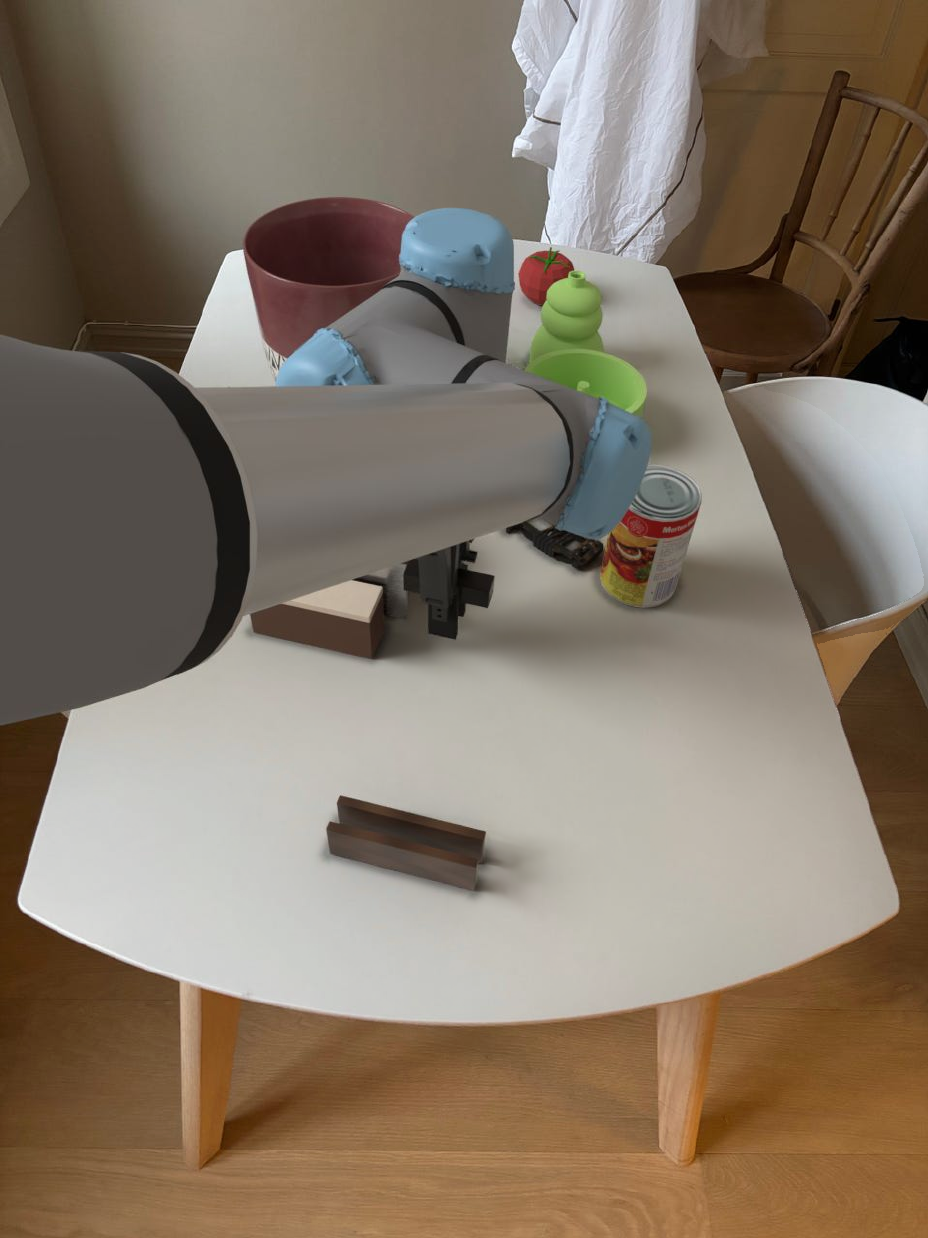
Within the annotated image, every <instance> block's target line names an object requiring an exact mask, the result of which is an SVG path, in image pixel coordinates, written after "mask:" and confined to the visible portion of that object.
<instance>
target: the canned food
mask: <svg viewBox="0 0 928 1238" xmlns="http://www.w3.org/2000/svg"><path fill="white" fill-rule="evenodd" d="M702 499H703V494H702V492H701V488H700V486H699V485H698V483H697V482H696V481H695V480H694V479H693V478H692V477H691V476H689V474H687V473H685V472H683V471H681V470H679V469H677V468H674V467H671V466H669V465H662V464H648V465H647V469H646V471H645V474H644V477H643V480H642V482H641V485H640V487H639V489H638V491H637V494H636V496H635V498H634V500H633V502H632V504H631V505H630V507H629V509H628V511H627V512H626V514H625V515H624V517H623V518H622V520H621V521H620V523H619V524H618V525H617V526H616V527H615V528H614V529H613V530H612V531H611V532H610V533H609V534H607V536H606V537H607V538H606V542H605V546H604V550H603V552H604V553H603V556H602V561H601V565H600V573H599V580H600V583H601V586H602V588H603V589H604V591H605V593H607V594H609V596H610V597H611V598H612V599H614V600H616V601H617V602H619V603H621V604H624V605H627V606H629V607H634V608H640V609H641V608H643V609H644V608H653V607H657V606H660V605H662V604H665V603H666V602H668V601H669V600H670V599H671V598H672V597H673V595H674V594H675V592H676V589H677V586H678V583H679V579H680V576H681V572H682V569H683V566H684V564H685V563H684V562H685V559H686V555H687V552H688V549H689V545H690V542H691V538H692V535H693V532H694V528H695V526H696V522H697V519H698V515H699V512H700V508H701V504H702V501H703V500H702Z"/></svg>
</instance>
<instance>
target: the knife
mask: <svg viewBox="0 0 928 1238" xmlns="http://www.w3.org/2000/svg"><path fill="white" fill-rule="evenodd" d="M547 523H548V524H550V525H551V526H549V527H547V528H545V529H543V530H540V529H538V528H537V527H535V526H534V525H532V524H531V523H530V522H529V521H526V522H522V523H519V524H516V525H513V526H510V527H507V528H505V533H507V534H509V533H511V532H513V531H514V530H515V529H517V530H519V531H520V532H521V533H522V535H523V536H524V537H525V539H527V540H528V541H530V542H532V546H533V547H536V549H537V550H540V551H541V552H542V553H544V554H545V555H547V556H548V557H549V558H552V559H554V560H555V561H558V562H563V563H565V564H570V565H571V567H572V568H574V569H575V570H580V571H581V570H583V569H584V568H588V567H589V566H590V565H592V564H593V563H594V562H595V561H596V560H597V559H598V558H599V556H600V555H601V554H602V553H603V552H604V549H605V546H604V543H603V542H602V541H600V540H599V539H588V538H585V537H582V536H579V535H576V534H574V533H571V532H568V531H565V530H561V531H559V530H558V529H557V528H554V527H555V526H554V525H552V524H551V523H549V522H547ZM557 532H558V533H557ZM556 538H559V539H558V540H556ZM573 540H574V541H576V542H578V543H579V544H580V545H578V546H577V547H576V548H574V549H573V550H570V549H568V547H566V546H567V545H568V544H569V543H571V542H572V541H573ZM590 543H591V544H590ZM582 555H583V556H582ZM581 556H582V557H581ZM570 557H571V558H570Z"/></svg>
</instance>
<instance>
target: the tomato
mask: <svg viewBox="0 0 928 1238" xmlns="http://www.w3.org/2000/svg"><path fill="white" fill-rule="evenodd" d="M571 271H575V266H574V264H573V262H572V261H571V260H570V259H569V258H568V257H567V256H566V255H564V253H561V250H559V249H558V250H555V251H554V250H553V247H552V246H550V247H549V250H540V251H539V250H538V251H536V252H534V253H532V254H530V255H528V256H527V257H525V258H524V259H523V262H522V263H521V266H520V268H519V271H518V283H519V287H520V291H521V292H522V294H523V295H524V296H525V297H526V298H527V299H528V300H529V301H530V302H531V303H533V304H535V305H538V306H543V305H544V303H545V302H546V300H547V299H546V297H547V291H548V289H549V288H550V287H551V286H552V284H554V283H555V282H557V281H559V280H562V279H565V278H568V274H569V272H571Z"/></svg>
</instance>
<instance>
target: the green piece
mask: <svg viewBox="0 0 928 1238" xmlns="http://www.w3.org/2000/svg"><path fill="white" fill-rule="evenodd" d="M574 270H575V269H574ZM586 277H587V274H586V273H585V272H584V271H582V270H575V271H571V272H569V274H568V278H565V279H562V280H559V281H557V282H555V283H554V284H552V286H551V287H550V288H549V289H548V291H547V297H546V299H547V300H546V302H545V303H544V305H542V308H541V310H540V311H541V312H540V319H541V320H540V321H541V323H542V325H541V326H540V327H539V328H538V329H537V331H536V332H535V334H534V336H533V337H532V340H531V345H530V347H529V348H530V350H529V359H528V364H527V365H526V366H525V368H524V370H525V371H527V372H530V373H533V374H535V375H538V376H541V377H543V378H546V379H548V380H551V381H554V382H556V383H559V384H562V385H564V386H567V387H570V388H572V389H575V390H577V391H580V392H583V393H585V394H588V395H591V396H593V397H596V398H599V397H603V398H605V399H607V400H608V402H609V403H611V404H613V405H615V406H617V407H619V408H621V409H623V410H625V411H628V412H630V413H632V414H634V415H636V416H638V417H640V418H642V419H643V413H644V407H645V403H646V399H647V392H648V389H647V385H646V381H645V379H644V378H643V376H642V374H641V373H640V372H639V371H638V370H637V369H636V368H635V367H634V366H633V365H631V364H630V363H629V362H627V361H626V360H624V359H621V358H620V357H617V356H615V355H612V354H610V353H606V352H605V349H604V342H603V338H602V337H601V334H600V332H599V330H600V328H601V326H602V324H603V323H602V322H603V317H604V316H603V315H604V313H603V309H602V306H601V305H602V300H603V295H602V293H601V291H600V289H599V287H597V285H595V284H594V283H593V282H591V281H589V280H587V279H586Z"/></svg>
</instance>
